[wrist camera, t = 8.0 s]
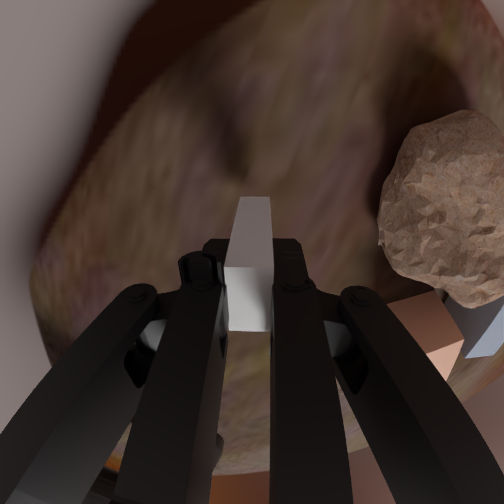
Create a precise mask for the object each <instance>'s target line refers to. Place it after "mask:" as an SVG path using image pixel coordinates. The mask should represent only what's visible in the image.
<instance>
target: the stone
mask: <svg viewBox="0 0 504 504" xmlns="http://www.w3.org/2000/svg"><path fill="white" fill-rule="evenodd" d="M376 221H377V224H378V228H379V243H378V245H382V247H383V250H384V253H385V256H386V257H387V259H388V261H389V263H390V265H391V267H392V269H393V270H395V272H396V273H397V274H399V275H401V276H403V277H408V278H411V279H413V280H416V281H420V282H424V283H426V284H429V285H431V286H432V287H434V288H441V289H443V290H445V291H446V292H447V293H448V294H449V295H450V297H451V298H452V299H454V301H456V302H457V303H458V304H460V305H462V306H463V307H466V308H478V307H480V306H482V305H484V304H487V303H489V302H492V301H494V300H496V299H498V298H500V297H501V296H503V295H504V136H503V135H502V133H501V132H500V130H499V129H498V127H497V126H496V125H495V124H494V122H493V121H492V120H491V119H490V118H489V117H487V116H485V115H484V114H483V113H481V112H480V111H479V110H466V109H465V110H459V111H457V112H454V113H451V114H449V115H446V116H444V117H441V118H439V119H436V120H434V121H432V122H429V123H424V124H421V125H418V126H415V127H413V128H411V129H410V131H409V133H408V135H407V136H406V138H405V139H404V141H403V144H402V146H401V148H400V150H399V152H398V154H397V158H396V162H395V165H394V167H393V169H392V170H391V173H390V174H389V175H388V176H387V178H386V180H385V182H384V184H383V187H382V193H381V197H380V204H379V212H378V216H377V219H376Z"/></svg>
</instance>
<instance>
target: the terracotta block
mask: <svg viewBox="0 0 504 504" xmlns="http://www.w3.org/2000/svg"><path fill="white" fill-rule="evenodd" d="M387 306H388V307H389V308H390V309H391V310H392V312H393V313H394V314H395V315H396V317H397V318H398V319H399V320H400V321H401V323H402V324H403V325H404V326H405V328H406V329H407V330H408V331H409V333H410V334H411V335H412V337H413V338H414V339H415V340H416V342H417V343H418V344H419V346H420V347H421V348H422V350H423V351H424V352H425V353H426V355H427V356H428V357H429V359H430V360H431V361H432V363H433V364H434V366H435V367H436V368H437V370H438V371H439V372H440V374H441V375H442V377H443V378H444V379H445V381H446V380H447V378H448V376H449V374H450V372H451V370H452V367H453V365H454V363H455V361H456V359H457V356H458V354H459V352H460V349H461V347H462V344H463V342H464V337H463V335H462V334H461V332H460V330H459V328H458V327H457V325H456V323H455V322H454V320H453V318H452V317H451V315H450V313H449V312H448V310H447V309H446V307H445V306H444V304H443V302H442V301H441V299H440V298H439V296H438V295H437V293H436V292H435V290H433V291H430V292H427V293H423V294H420V295H417V296H413V297H410V298H406V299H403V300H399V301H396V302H392V303H388V304H387Z"/></svg>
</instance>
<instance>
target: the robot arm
mask: <svg viewBox="0 0 504 504" xmlns="http://www.w3.org/2000/svg"><path fill="white" fill-rule="evenodd" d="M178 266H179V271H180V277H181V283H182V284H181V287H180V289H178V290H176V291H172V292H167V293H161V294H157V290H156V289H155V287H154V286H152V285H150V284H143V283H140V284H134V285H132V286H129V287H127V288H126V289H124V290H123V291H122V292H121V293H120V294H119V295H118V296H117V297H116V298H115V299H114V300H113V301H112V302H111V303H110V304H109V305H108V306H107V307H106V308H105V309H104V310H103V311H102V312H101V313H100V314H99V315H98V317H97V318H96V319H95V320H94V321H93V322H92V323H91V324H90V325H89V326H88V327H87V328H86V329H85V331H84V332H83V333H82V334H81V335H80V336H79V337H78V338H77V339H76V341H75V342H74V343H73V344H72V345H71V346H70V347H69V348H68V350H67V351H66V352H65V353H64V354H63V355H62V356H61V358H60V359H59V360H58V361H57V362H56V363H55V365H54V366H53V367H52V368H51V369H50V371H49V372H48V373H47V374H46V375H45V377H44V378H43V379H42V380H41V381H40V383H39V384H38V385H37V386H36V388H35V389H34V390H33V391H32V393H31V394H30V395H29V396H28V398H27V399H26V400H25V402H24V403H23V404H22V405H21V407H20V408H19V409H18V411H17V412H16V414H15V415H14V416H13V417H12V419H11V420H10V422H9V423H8V424H7V426H6V427H5V429H4V430H3V431H2V433H1V434H0V504H209V498H210V489H211V480H212V473H213V471H214V469H215V467H216V465H217V463H218V461H219V459H220V457H221V456H222V453H223V445H224V441H223V439H222V438H221V437H220V436H219V435H217V428H218V419H219V411H220V403H221V395H222V387H223V379H224V371H225V363H226V355H227V347H228V335H227V330H228V323H229V331H270V332H271V336H270V354H269V356H270V485H269V486H270V487H269V504H353V495H352V486H351V476H350V468H349V460H348V452H347V445H346V438H345V431H344V425H343V418H342V412H341V406H340V400H339V395H338V389H337V384H336V378H337V380H338V382H339V384H340V386H341V389H342V391H343V393H344V395H345V397H346V399H347V401H348V403H349V405H350V407H351V409H352V411H353V413H354V415H355V417H356V419H357V421H358V423H359V425H360V427H361V429H362V432H363V434H364V436H365V438H366V440H367V442H368V444H369V446H370V448H371V450H372V452H373V455H374V457H375V459H376V461H377V463H378V465H379V467H380V469H381V472H382V474H383V476H384V478H385V480H386V482H387V484H388V487H389V489H390V491H391V493H392V495H393V498H394V500H395V502H396V504H504V475H503V473H502V471H501V469H500V467H499V465H498V463H497V461H496V460H495V458H494V456H493V454H492V452H491V451H490V449H489V447H488V446H487V444H486V442H485V441H484V439H483V437H482V436H481V434H480V432H479V431H478V429H477V427H476V426H475V424H474V423H473V421H472V419H471V418H470V416H469V415H468V413H467V412H466V410H465V409H464V407H463V406H462V404H461V403H460V401H459V400H458V398H457V397H456V395H455V394H454V392H453V391H452V389H451V388H450V386H449V385H448V384H447V382H446V381H445V379H444V378H443V377H442V375H441V374H440V372H439V371H438V370H437V368H436V367H435V366H434V364H433V363H432V361H431V360H430V359H429V357H428V356H427V355H426V353H425V352H424V351H423V350H422V348H421V347H420V346H419V344H418V343H417V342H416V340H415V339H414V338H413V337H412V335H411V334H410V333H409V331H408V330H407V329H406V328H405V326H404V325H403V324H402V323H401V321H400V320H399V319H398V318H397V317H396V315H395V314H394V313H393V312H392V310H391V309H390V308H389V307H388V306H387V304H386V303H385V302H384V301H383V300H382V298H381V297H380V296H379V295H378V294H377V293H376V292H375V291H373V290H371V289H369V288H367V287H363V286H350V287H347V288H345V289H344V290H343V291H342V292H341V295H340V296H338V295H333V294H329V293H325V292H322V291H320V290H318V289H317V288H316V285H315V284H314V282H313V280H311V279H310V278H309V276H308V272H307V268H306V263H305V259H304V255H303V251H302V247H301V244H300V243H299V242H298V241H297V240H296V239H279V238H272V225H271V209H270V197H240V200H239V204H238V208H237V212H236V217H235V221H234V225H233V229H232V234H231V238H230V239H210V240H209V241H208V242H207V243H206V244H204V246H203V249H202V251H195V252H191V253H188V254H186V255H184V256H182V257H181V258H180V259H179V260H178ZM335 376H336V378H335ZM134 415H135V417H134ZM133 417H134V420H133V423H132V427H131V430H130V434H129V437H128V440H127V444H126V448H125V451H124V455H123V458H122V462H121V466H120V470H119V472H118V471H116V470H113V469H111V468H109V467H106V466H104V465H105V463H106V461H107V460H108V458H109V456H110V455H111V453H112V451H113V450H114V448H115V446H116V445H117V443H118V441H119V440H120V438H121V436H122V435H123V433H124V431H125V430H126V428H127V427H128V425H129V423H130V422H131V420H132V418H133Z"/></svg>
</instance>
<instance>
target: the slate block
mask: <svg viewBox="0 0 504 504" xmlns="http://www.w3.org/2000/svg"><path fill="white" fill-rule="evenodd" d="M444 306H445V307H446V309H447V310H448V312H449V313H450V315H451V317H452V318H453V320H454V322H455V323H456V325H457V327H458V328H459V330H460V332H461V334H462V335H463V337H464V342H463V344H462V347H461V349H460V350H461V352H462V354H463V356H464V358H473V357H481V356H489V355H494V354H495V353H496V351H497V350H498V349H499V348H500V346H501V345H502V344H503V343H504V295H503V296H501V297H500V298H498V299H496V300H494V301H492V302H489V303H487V304H484V305H482V306H480V307H478V308H466V307H463V306H462V305H460V304H458V303H457V302H456V301H454V299H452V298H451V297H450V295H449V296H448V297H447V299H446V301H445V302H444Z"/></svg>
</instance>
